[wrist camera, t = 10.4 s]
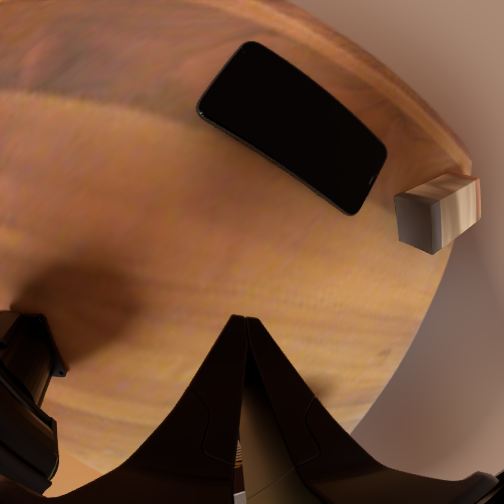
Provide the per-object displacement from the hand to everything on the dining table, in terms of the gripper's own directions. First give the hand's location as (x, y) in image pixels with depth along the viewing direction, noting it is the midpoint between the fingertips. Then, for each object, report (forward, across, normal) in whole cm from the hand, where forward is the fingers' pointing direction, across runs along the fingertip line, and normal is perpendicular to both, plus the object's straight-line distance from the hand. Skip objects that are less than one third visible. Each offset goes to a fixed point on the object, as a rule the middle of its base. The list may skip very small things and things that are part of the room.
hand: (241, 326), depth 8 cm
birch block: (+13, -15, -2) cm, 20 cm away
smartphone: (+14, -3, -6) cm, 16 cm away
